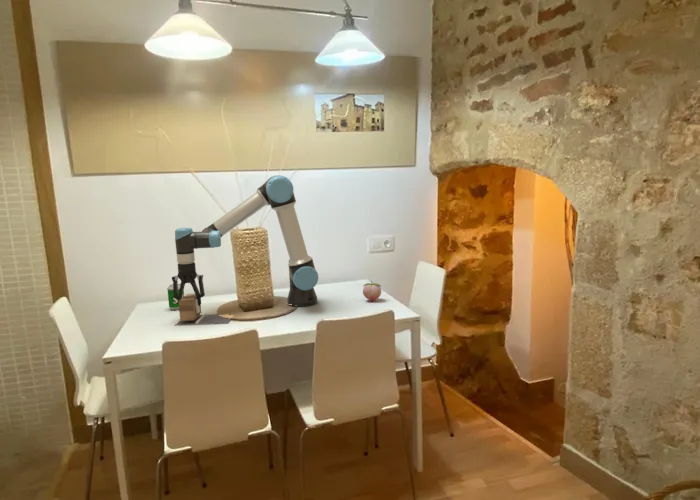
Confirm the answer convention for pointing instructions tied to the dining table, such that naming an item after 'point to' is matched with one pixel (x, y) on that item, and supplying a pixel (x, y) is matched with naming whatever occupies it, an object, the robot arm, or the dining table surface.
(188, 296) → the walnut block
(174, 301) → the soda can
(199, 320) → the mat
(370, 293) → the decorative fruit
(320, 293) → the dining table surface
